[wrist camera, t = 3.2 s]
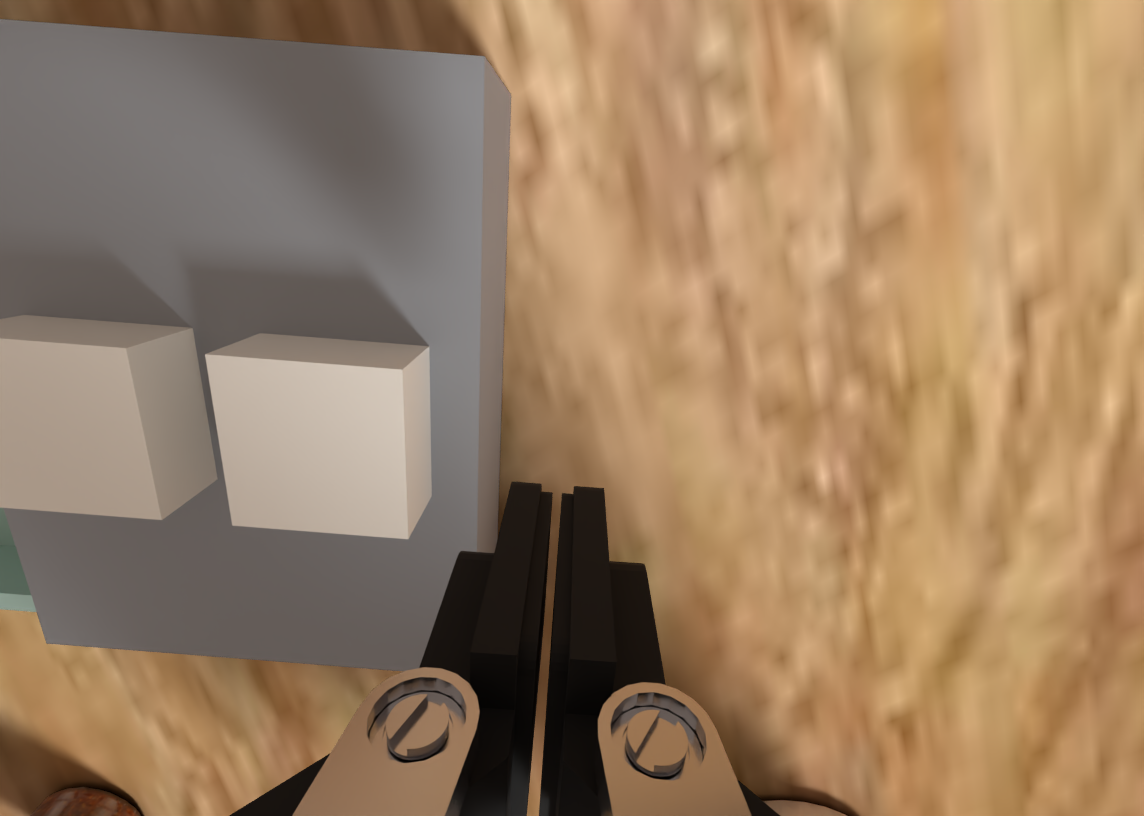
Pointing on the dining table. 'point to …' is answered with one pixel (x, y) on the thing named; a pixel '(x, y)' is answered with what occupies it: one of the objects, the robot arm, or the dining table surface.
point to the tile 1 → (101, 417)
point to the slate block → (260, 306)
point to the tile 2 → (324, 433)
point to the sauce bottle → (84, 804)
